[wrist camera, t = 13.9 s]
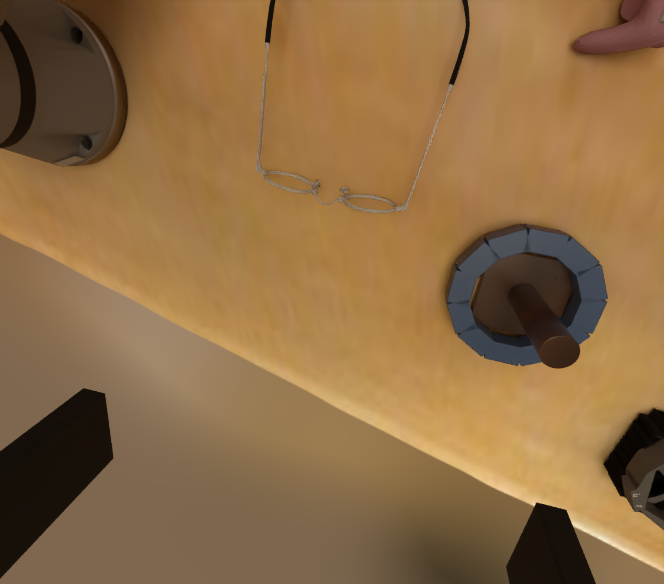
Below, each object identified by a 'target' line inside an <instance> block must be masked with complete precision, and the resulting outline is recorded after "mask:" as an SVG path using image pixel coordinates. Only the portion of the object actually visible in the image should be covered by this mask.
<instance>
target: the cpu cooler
mask: <svg viewBox="0 0 664 584" xmlns="http://www.w3.org/2000/svg"><path fill="white" fill-rule="evenodd" d="M638 416H639V418H638V419H637V420H638V421H637V420H635V421H634V423H633V424H632V425H633V426H632V425H631V427H630V428H629V430H628V431H627V433H626V435H625V436H626V437H625V436H623V438H624V439H623V438H622V439H621V440H622V441H620V443H618V444H619V445H618V446H617V447H616V448H615V450H614V451H613V452H612V453H611V455H610V456H609V458H608V459H607V461H606V463H604V466H605V468H606V469H607V471H608V474H609V476H610V478H611V480H612V482H613V483H614V485H615V487H616V489H617V491H618V493H619V495H620V496H622V497H623V496H624V497H625V498H627V500H628V502H629V503H630V505H631V507H632V509H633V510H634V512H641V513H643V514H644V515H646V516H647V517H648V518H649V519H651V520H652V521H653V522H654V523H656V524H657V525H658V526H659V527H661V528H662V529H663V530H664V412H663V411H662V412H661V411H658V410H655V409H654V410H653V411H652V413H651V414H650V415H649V416H648V415H645V414H641V413H640V414H639V415H638Z"/></svg>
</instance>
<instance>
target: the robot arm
mask: <svg viewBox="0 0 664 584" xmlns="http://www.w3.org/2000/svg"><path fill="white" fill-rule="evenodd" d="M126 108H127V102H126V89H125V84H124V79H123V75H122V72H121V69H120V65H119V63H118V60H117V58H116V56H115V54H114V52H113V50H112V48H111V46H110V45H109V43H108V41H107V40H106V38H105V37H104V35H103V34H102V33H101V32H100V30H99V29H98V28H97V27H96V26H95V25H94V24H93V23H92V22H91V21H90V20H89V19H88V18H87V17H86V16H84V15H83V14H82V13H80V12H79V11H77V10H75V9H74V8H72V7H70V6H68V5H65V4H63V3H60V2H58V1H55V0H0V148H3V149H6V150H9V151H12V152H15V153H19V154H22V155H25V156H28V157H32V158H35V159H38V160H41V161H45V162H48V163H52V164H54V165H57V166H61V167H64V166H75V165H87V164H91V163H94V162H96V161H99V160H100V159H102V158H104V157H105V156H106V155H107V154H108V153H109V152H110V151H111V150H112V149H113V148H114V147H115V145H116V144H117V142H118V140H119V138H120V136H121V133H122V131H123V127H124V123H125V118H126ZM112 459H113V451H112V443H111V437H110V428H109V421H108V413H107V405H106V398H105V394H104V393H100V392H97V391H93V390H89V389H84V388H83V389H82V390H81V391H79V392H78V393H77V394H75V395H74V396H73V397H71V398H70V399H69V400H68V401H66V402H65V403H64V404H62V405H61V406H59V407H58V408H57V409H56V410H54V411H53V412H52V413H50V414H49V415H48V416H46V417H45V418H44V419H42V420H41V421H40V422H39V423H37V424H36V425H35V426H33V427H32V428H31V429H29V430H28V431H27V432H25V433H24V434H23V435H21V436H20V437H19V438H17V439H16V440H15V441H14V442H12V443H11V444H9V445H8V446H7V447H5V448H4V449H3V450H2V451H0V578H1V577H2V576H3V575H4V574H5V573H6V572H7V571H8V570H9V569H10V568H11V567H12V565H13V564H14V563H15V562H16V561H17V560H18V559H19V558H20V557H21V556H22V555H23V554H24V553H25V552H26V551H27V549H28V548H29V547H30V546H31V545H32V544H33V543H34V542H35V541H36V540H37V539H38V538H39V536H41V535H42V534H43V533H44V531H45V530H46V529H47V528H48V527H49V526H50V525H51V524H52V523H53V522H54V521H55V520H56V519H57V518H58V517H59V516H60V514H61V513H62V512H63V511H64V510H65V509H66V508H67V507H68V506H69V505H70V504H71V503H72V502H73V501H74V500H75V499H76V497H77V496H78V495H79V494H80V493H81V492H82V491H83V490H84V489H85V488H86V487H87V486H88V484H90V482H91V481H92V480H93V479H94V478H95V477H96V476H97V475H98V474H99V473H100V472H101V471H102V470H103V469H104V468H105V467H106V466H107V465H108V463H109V462H110V461H111V460H112ZM506 568H507V573H508V578H509V583H510V584H596V583H595V580H594V578H593V575H592V573H591V570H590V568H589V565H588V563H587V560H586V558H585V555H584V553H583V550H582V548H581V545H580V543H579V540H578V538H577V535H576V533H575V530H574V528H573V525H572V523H571V520H570V518H569V515H568V513H567V511H566V510H565V509H561V508H557V507H553V506H549V505H545V504H541V503H536V505H535V507H534V509H533V511H532V513H531V515H530V517H529V519H528V522H527V524H526V526H525V528H524V530H523V532H522V534H521V536H520V539H519V541H518V543H517V545H516V547H515V549H514V551H513V553H512V555H511V558H510V560H509V562H508V564H507V566H506Z"/></svg>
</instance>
